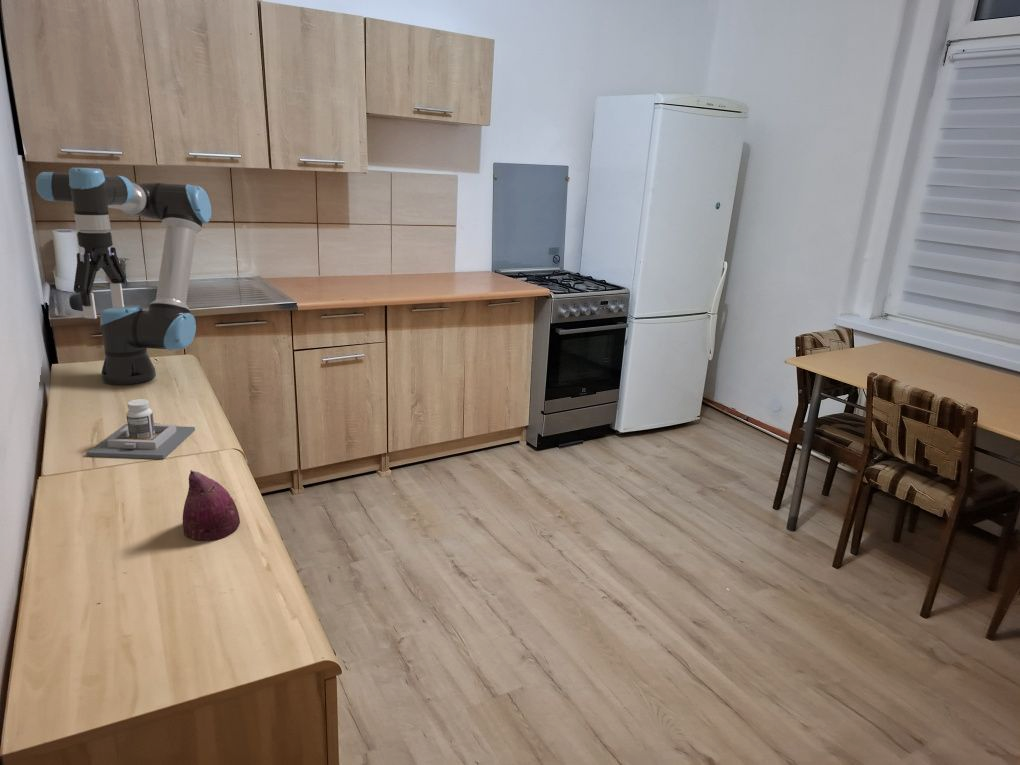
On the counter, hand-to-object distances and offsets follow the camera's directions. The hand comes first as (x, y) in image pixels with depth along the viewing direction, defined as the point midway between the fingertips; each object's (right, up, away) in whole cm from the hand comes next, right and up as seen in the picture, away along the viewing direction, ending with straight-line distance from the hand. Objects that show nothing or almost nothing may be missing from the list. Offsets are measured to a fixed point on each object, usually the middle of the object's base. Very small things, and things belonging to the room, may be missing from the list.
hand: (105, 312), depth 176 cm
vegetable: (+48, -48, -43) cm, 81 cm away
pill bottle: (+15, -33, -8) cm, 37 cm away
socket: (+15, -34, -8) cm, 38 cm away
